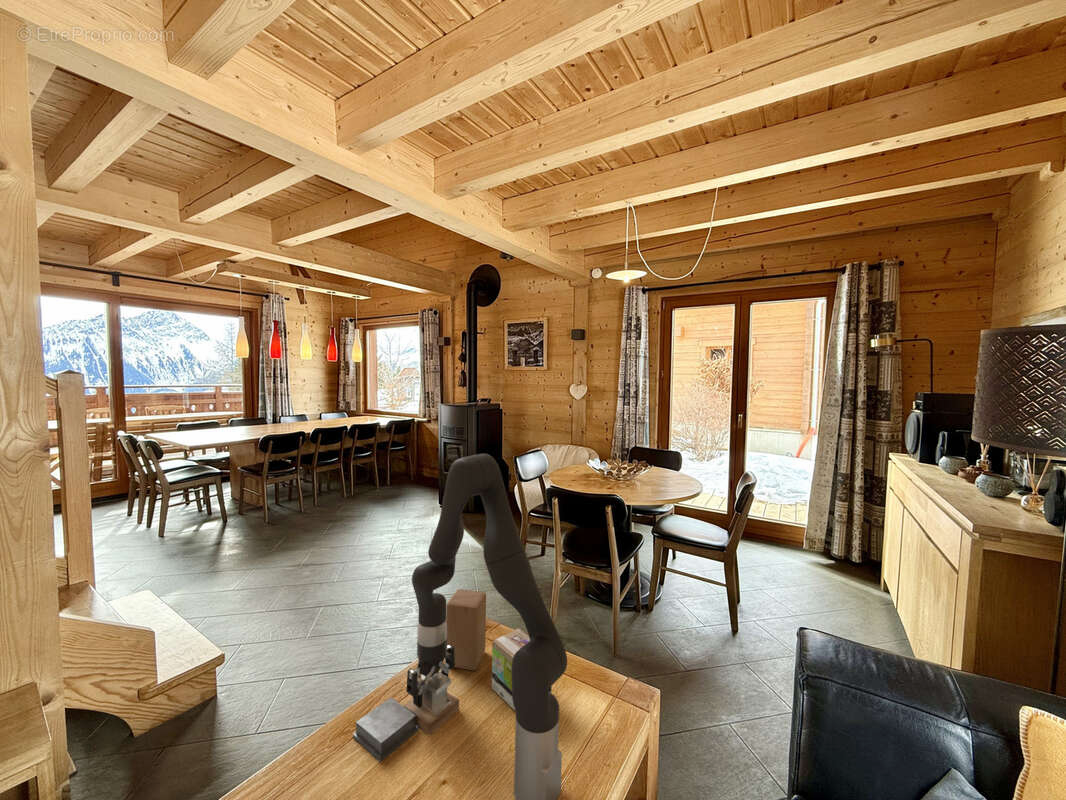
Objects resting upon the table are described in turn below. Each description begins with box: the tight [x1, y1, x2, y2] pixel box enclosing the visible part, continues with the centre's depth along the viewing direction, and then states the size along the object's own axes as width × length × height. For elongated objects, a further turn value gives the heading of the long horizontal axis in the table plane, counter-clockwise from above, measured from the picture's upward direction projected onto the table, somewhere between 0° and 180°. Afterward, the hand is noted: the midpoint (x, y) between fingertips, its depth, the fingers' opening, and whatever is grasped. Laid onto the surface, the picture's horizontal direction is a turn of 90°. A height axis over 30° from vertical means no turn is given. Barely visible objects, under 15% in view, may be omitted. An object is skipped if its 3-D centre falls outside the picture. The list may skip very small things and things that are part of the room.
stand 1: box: [352, 696, 420, 763], centre depth 106 cm, size 11×11×4 cm
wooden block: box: [446, 588, 487, 671], centre depth 134 cm, size 10×10×20 cm
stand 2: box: [403, 691, 460, 737], centre depth 113 cm, size 10×10×3 cm
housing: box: [418, 671, 452, 717], centre depth 112 cm, size 9×5×7 cm, turn 55°
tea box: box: [491, 627, 553, 711], centre depth 119 cm, size 15×10×15 cm, turn 42°
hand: (431, 695), depth 112 cm, fingers open, 8 cm apart
